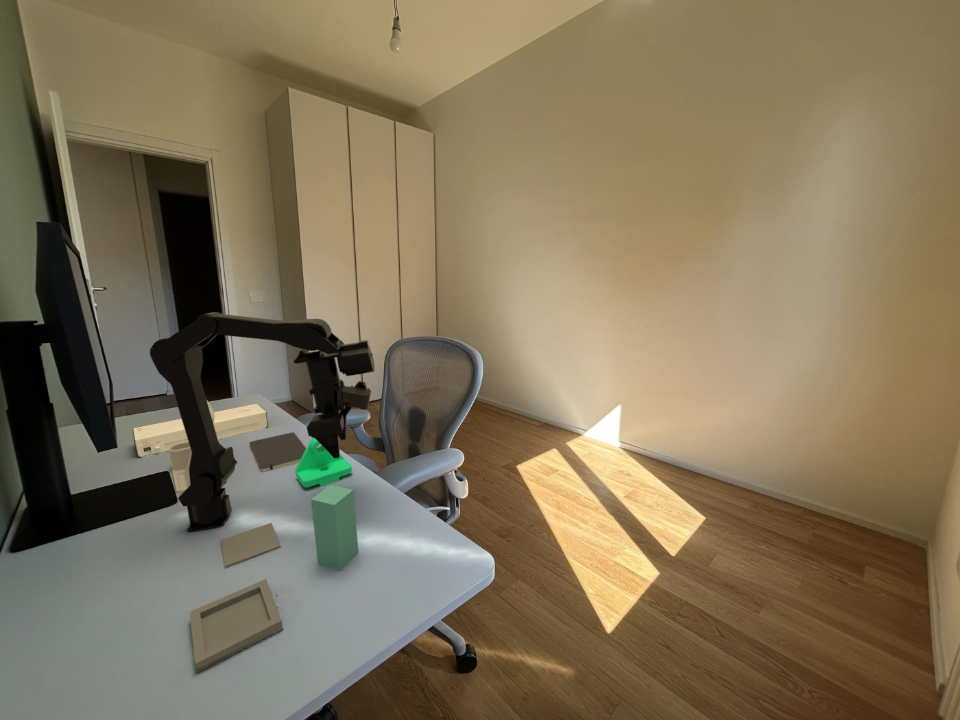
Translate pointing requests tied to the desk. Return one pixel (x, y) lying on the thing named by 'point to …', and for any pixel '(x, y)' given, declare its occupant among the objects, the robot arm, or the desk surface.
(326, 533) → the tall green square pillar
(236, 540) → the lid
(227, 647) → the shallow beige square tray
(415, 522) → the desk surface
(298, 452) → the notebook
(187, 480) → the phone holder
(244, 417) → the laminator
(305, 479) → the green mounting bracket
